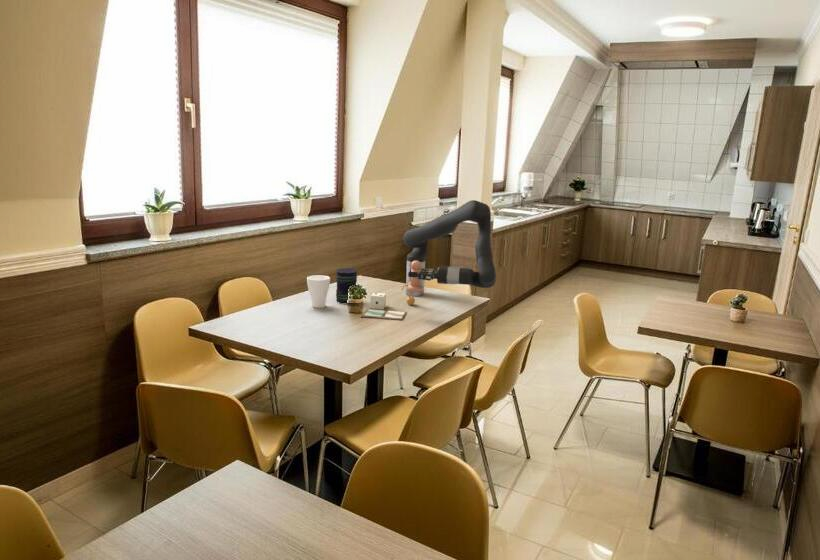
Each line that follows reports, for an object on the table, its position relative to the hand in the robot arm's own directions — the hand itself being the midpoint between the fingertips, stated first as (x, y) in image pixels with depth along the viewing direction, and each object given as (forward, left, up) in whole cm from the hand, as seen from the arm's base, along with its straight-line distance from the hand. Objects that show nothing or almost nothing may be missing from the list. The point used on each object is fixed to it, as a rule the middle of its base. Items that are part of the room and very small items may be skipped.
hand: (409, 273), depth 256 cm
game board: (0, -11, -20) cm, 23 cm away
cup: (-7, -43, -20) cm, 48 cm away
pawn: (0, +3, -7) cm, 8 cm away
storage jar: (-19, -33, -20) cm, 43 cm away
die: (-12, -16, -20) cm, 28 cm away
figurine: (-19, -2, -20) cm, 28 cm away
